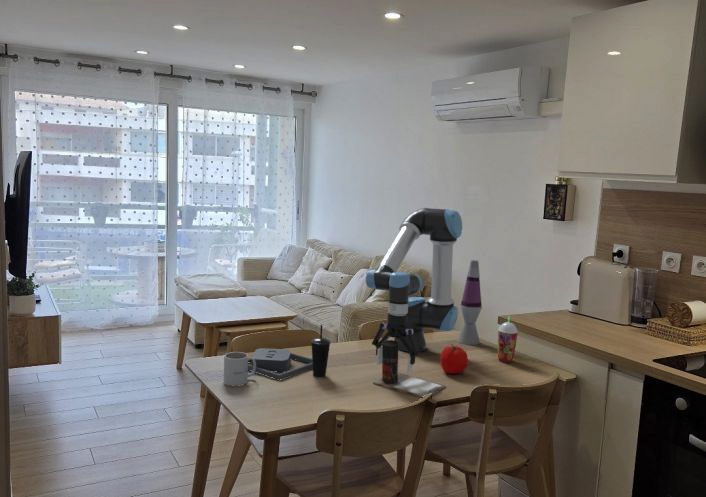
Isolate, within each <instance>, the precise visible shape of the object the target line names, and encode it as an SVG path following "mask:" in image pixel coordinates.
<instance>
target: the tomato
mask: <svg viewBox="0 0 706 497" xmlns="http://www.w3.org/2000/svg"><path fill="white" fill-rule="evenodd" d="M440 353H441V354H440V359H439V360H440V367H441V368H442V370H443V371H444V372H445V373H447V374H460V373H463V372H464V370H466V368H467V367H468V364H469V358H468V354H467V352H466V351H465V350H464V349H463V348H462V347H460V346H457V345H453V344H451V346H446V347H444V348H443V350H442V351H441V352H440Z"/></svg>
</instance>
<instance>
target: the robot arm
mask: <svg viewBox="0 0 706 497" xmlns="http://www.w3.org/2000/svg"><path fill="white" fill-rule="evenodd" d="M398 230H399V231H398V234H397V235H396V236H395V238H394V240H393V242H392V243H391V245H390V247H389V248H388V250H387V252H386V253H385V255H384V256H383V258H382V260H381V262H380V263H379V265H378V267H376V269H370V270H368V271H367V273H366V275H365V285H366V287H368V288H369V289H372V290H377V291H378V290H380V291H386V292H388V302H387V303H388V304H387V312H388V313H387V319H386V320H387V321H386V322H385V321H384V322H381V323H380V324H379V329H378V330H377V332H376V335H375V336H374V338H373V339H372V342H371V345H372V346H375V355H376V357H377V358H376V365H378V366H379V365H382V343H383V342H384V341H387V340H389V338H390V337H391V338H393V341H397V342H398V351H402V352H407V353H408V354H409V355H408V356H407V368H406V369H407V370H406V372H407V374H410V373H412V372H413V370H414V364H415V363H416V357H417V356H419V355H421V352H422V351H425V350H426V349H427V342H426V338H425V334H424V329H430V330H435V331H439V332H451V331H452V330H453V329H454V327H455V325H456V323H457V321H458V317H459V308H458V307H457V306H455V305H454V304H455V301H454V299H453V298H452V296H451V294H452V277H453V274H452V273H453V251H454V249H453V248H454V244H455V243H457V240H458V238H460V237H461V236H462V231H463V220H462V217H461V215H460V212H458V211H457V210H454V209H446V208H429V207H422V208H418V209H416V210H414V211H413V212H411V213H410V214H409V215H408V216H407V217H405V218H404V219H403V221H402V222H401V224H400V226H399V227H398ZM422 235H425V236H426V235H427V236H429V241H430V242H431V243H432V261H431V262H432V263H431V264H432V266H431V268H432V270H431V290H430V292H431V293H430V294H431V295H430V297H429V298H427V301H426V298H425V297H422V296H410V295H414V294H416V293H418V292H420V291H421V290H422V288H423V285H424V282H423V279H422V277H421V276H420V275H419V274H417V273H410V274H409V273H407V272H403V271H402V272H400V271H398V270H399V268H400V267H401V264H402V263H403V262H404V259H405V257H406V256H407V254H408V252H409V251H410V249H411V247H412V245H413V244H414V242H415V241H416V240H418V239H419V238H420V237H421V236H422ZM385 330H387V332H386V333H385V335H384V336H383V334H384V332H385ZM381 337H382V338H381Z"/></svg>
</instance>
